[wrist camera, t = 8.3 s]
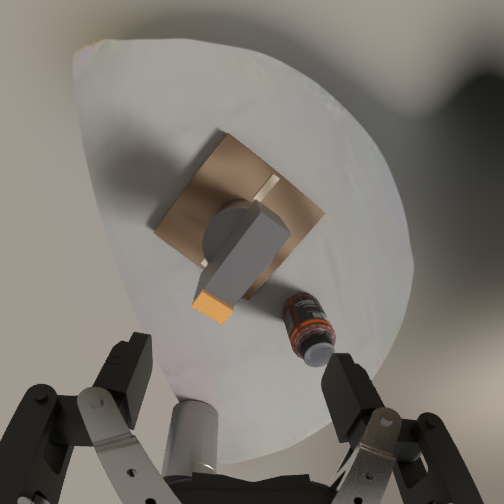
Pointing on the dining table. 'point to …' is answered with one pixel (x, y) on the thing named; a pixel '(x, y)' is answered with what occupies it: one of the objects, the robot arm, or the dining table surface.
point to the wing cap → (236, 256)
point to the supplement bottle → (309, 330)
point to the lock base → (231, 184)
